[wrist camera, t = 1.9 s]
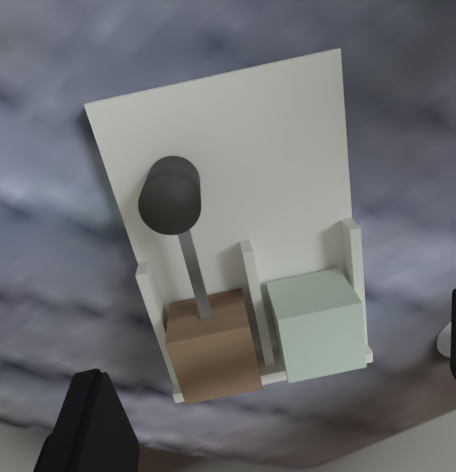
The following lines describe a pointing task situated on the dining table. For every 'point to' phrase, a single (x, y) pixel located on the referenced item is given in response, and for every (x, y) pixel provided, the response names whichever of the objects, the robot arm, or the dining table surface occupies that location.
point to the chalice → (444, 341)
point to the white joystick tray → (251, 207)
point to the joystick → (198, 296)
